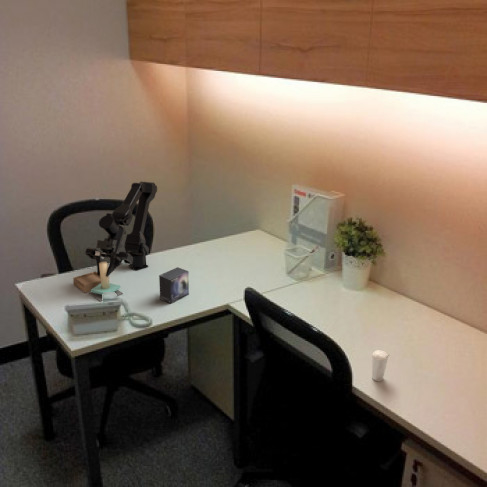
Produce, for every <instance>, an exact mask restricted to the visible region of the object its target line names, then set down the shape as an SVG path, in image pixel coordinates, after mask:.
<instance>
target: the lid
mask: <svg viewBox="0 0 487 487" xmlns="http://www.w3.org/2000/svg"><path fill="white" fill-rule="evenodd" d="M108 267H109V263H108V262H107V261H105V262H100V263H99V268H100V279H101V284H99V285H98V286H96V287H94V288H93V289H91V292H93V293H97V294H101V295H102V294H103V293H104V292H115V291H116V290H119V289H121V285H120V284H116V283H115V284H114V283H111V282H110V275H109V276H108V277H107V276H106V273H107V270H108Z"/></svg>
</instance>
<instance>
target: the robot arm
mask: <svg viewBox="0 0 487 487" xmlns="http://www.w3.org/2000/svg"><path fill="white" fill-rule="evenodd" d="M157 192H158V185H156V183H155V182H153V181H152V182H151V181H139V182H133V183H131V187H130V189H129V191H128V193H127V195H126V196H125V198H124V200H123V202H122V203H121V205H119V206H117V207H115V209H114V210H113V211H112V213H110V212H107V213H106V215H104V216H102V217H101V218H100V219H99V221H98V225H99V227H100V228H101V230H103V231H104V232H105V234H107V237H105V238H104V240H98V239H97V241H96V246H95V247H96V248H95V247H86V248H85V251H84V255H86V256H87V257H88V258H89V259H91V260H95V261H96V272H97V275H100V268H99V263H100V262H106V261H105V258H107V259H109V263H108V270H107V273H106V276H107V277H108V276H109V277H110V275H111V274H112V273H113V272H114V271H115V270H117V268H118V267H120V266H122V265H123V262H124V264H128V267H129V268H131V269H133V271H134V270H135V271H139V270H142V269H145V268H148V267H149V265H148V264H147V256H148V255H149V252H150V248H149V246H148V245H146V238H145V235H144V231H145V227H146V224H147V219H148V218H147V217H148V214H149V213H148V212H149V208H150V204H151V202H152V201H153V200H154V199H155V197H156V193H157ZM136 205H137V208H136V213H135V216H134V221H133V227H132V231H131V232H130V233H127V231H126V229H125V227H126V226H127V227H128V226H129V225H131V222H132V219H133V210H134V208H135V207H136ZM123 226H125V227H123ZM124 235H126V237H125V241H124V246H123V245H122V240H123V237H124ZM122 246H123V247H124V250H125V251H119V250H120V249H121V248H122ZM98 249H100V251H99V250H98Z"/></svg>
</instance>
